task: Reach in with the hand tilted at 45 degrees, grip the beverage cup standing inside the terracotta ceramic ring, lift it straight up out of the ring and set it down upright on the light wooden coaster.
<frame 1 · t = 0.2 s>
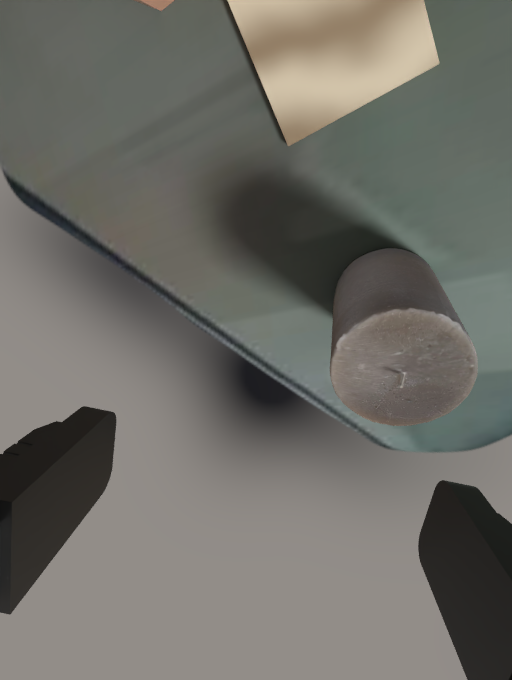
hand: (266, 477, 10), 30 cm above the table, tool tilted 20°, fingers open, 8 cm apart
pillar candle: (384, 292, 38), on the table
wooden coaster: (329, 23, 29), on the table
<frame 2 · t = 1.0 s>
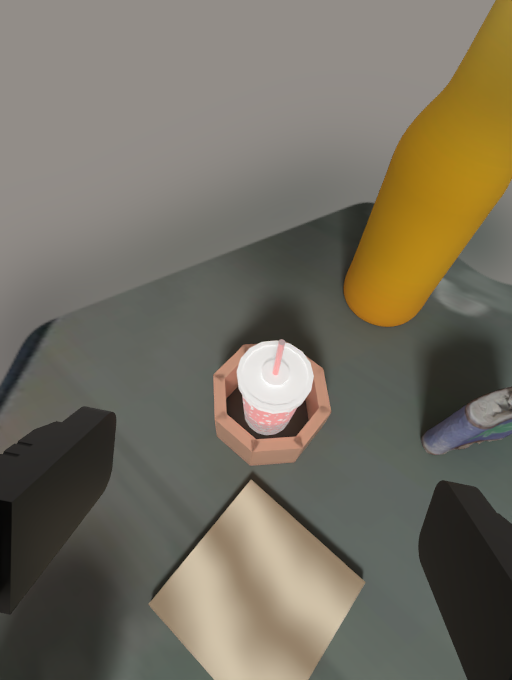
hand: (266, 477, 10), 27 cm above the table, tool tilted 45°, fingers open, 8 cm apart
beer bottle: (379, 297, 47), on the table
ceramic ring: (267, 412, 39), on the table
wooden coaster: (258, 592, 31), on the table
beverage cup: (267, 413, 39), resting in ceramic ring
flask: (461, 435, 39), on the table
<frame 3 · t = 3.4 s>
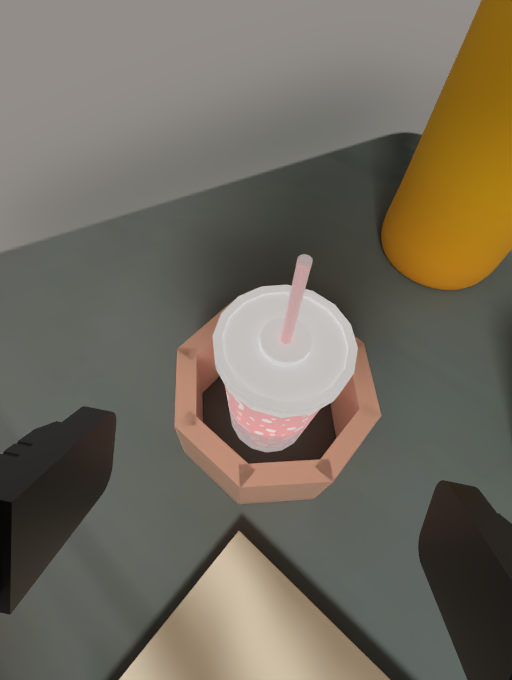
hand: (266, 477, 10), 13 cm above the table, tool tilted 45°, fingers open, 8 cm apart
beer bottle: (432, 251, 32), on the table
ceramic ring: (268, 414, 24), on the table
beverage cup: (267, 416, 24), resting in ceramic ring
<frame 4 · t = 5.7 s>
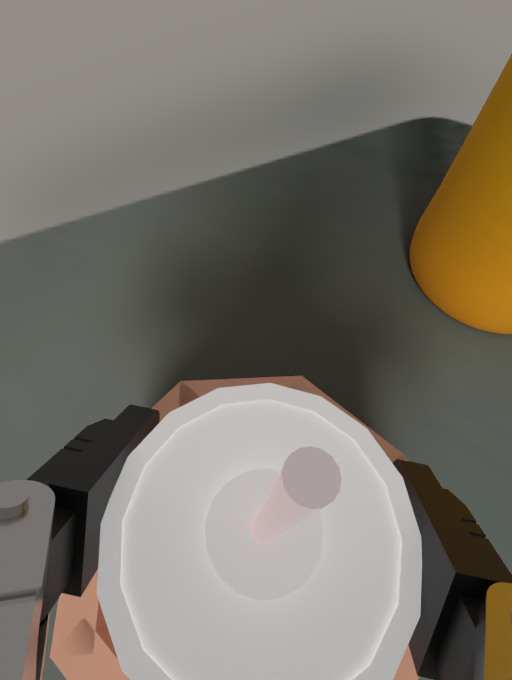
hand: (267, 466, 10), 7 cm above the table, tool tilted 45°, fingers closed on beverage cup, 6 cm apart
beer bottle: (479, 275, 23), on the table
ceramic ring: (246, 550, 15), on the table
beverage cup: (245, 550, 15), resting in ceramic ring, touching gripper
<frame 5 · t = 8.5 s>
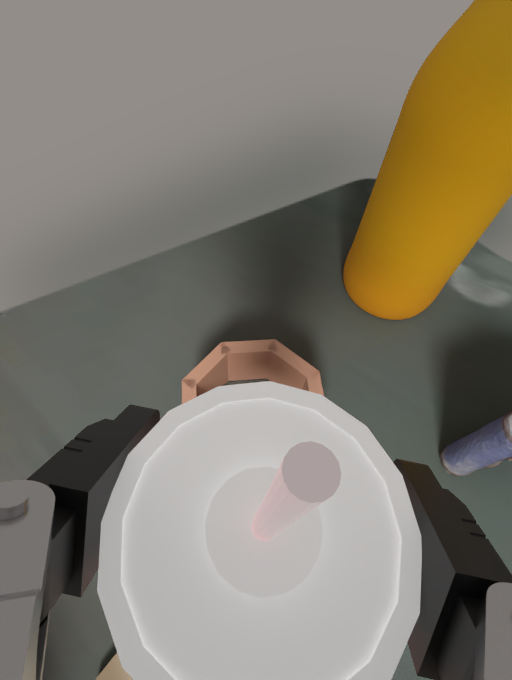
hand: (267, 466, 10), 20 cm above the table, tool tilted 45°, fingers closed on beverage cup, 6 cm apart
beer bottle: (385, 286, 40), on the table
ceramic ring: (251, 424, 32), on the table
wooden coaster: (238, 661, 24), on the table
beverage cup: (245, 548, 15), point 13 cm above the table, touching gripper
flask: (488, 450, 32), on the table
when the fingers open (9 cm above the table, at t = 11.6 s): beverage cup drops 1 cm, resting on wooden coaster.
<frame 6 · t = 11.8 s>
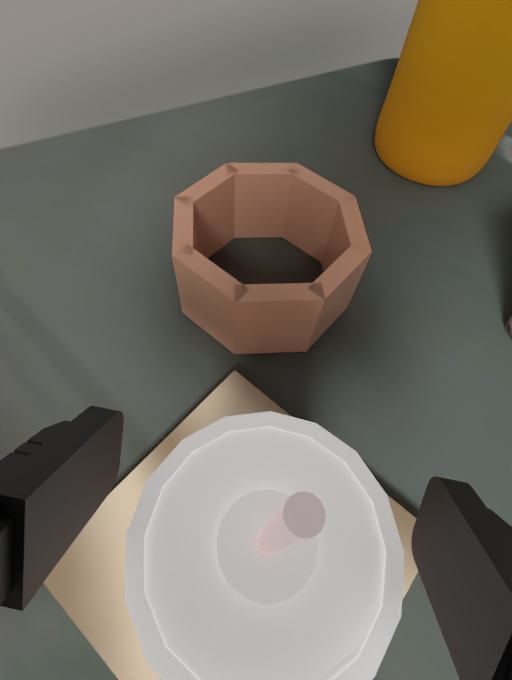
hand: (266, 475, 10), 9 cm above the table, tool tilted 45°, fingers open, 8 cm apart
beer bottle: (424, 155, 33), on the table
ceramic ring: (263, 283, 25), on the table
wooden coaster: (243, 552, 17), on the table
beverage cup: (248, 557, 16), point 1 cm above the table, touching wooden coaster
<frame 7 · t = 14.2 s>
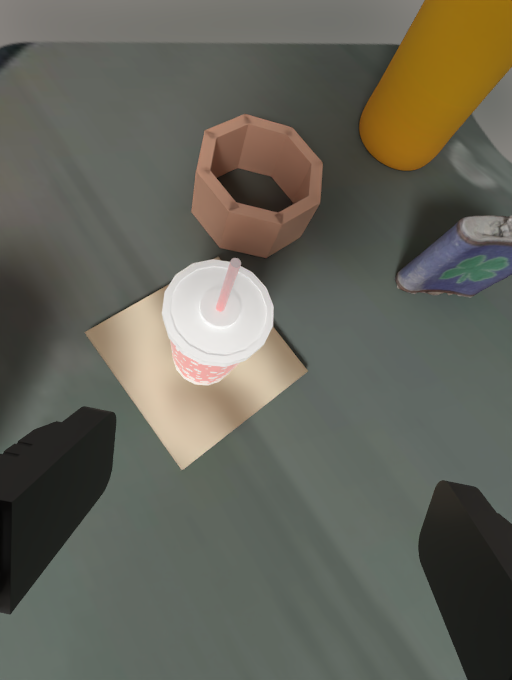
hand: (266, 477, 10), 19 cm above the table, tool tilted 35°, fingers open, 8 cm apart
beer bottle: (393, 141, 43), on the table
ceramic ring: (249, 206, 36), on the table
wooden coaster: (201, 355, 30), on the table
beverage cup: (203, 356, 30), point 1 cm above the table, touching wooden coaster
flask: (434, 284, 38), on the table
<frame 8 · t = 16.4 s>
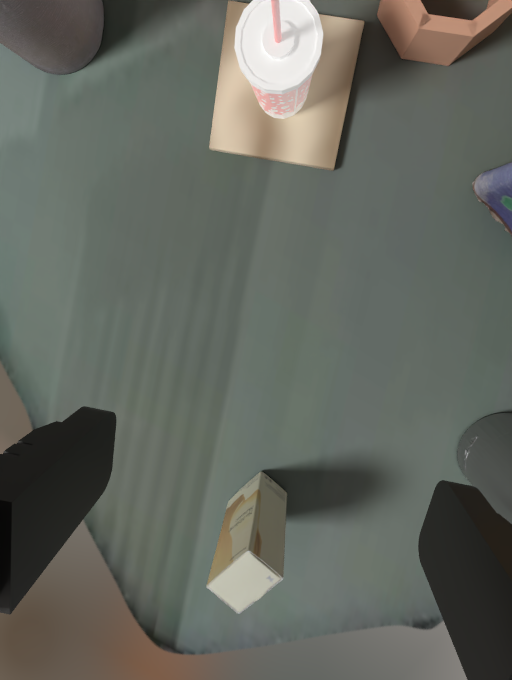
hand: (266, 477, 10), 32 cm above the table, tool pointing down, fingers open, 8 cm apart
skincare box: (256, 496, 47), on the table
pillar candle: (59, 19, 37), on the table
wooden coaster: (283, 91, 36), on the table
beverage cup: (282, 91, 36), point 1 cm above the table, touching wooden coaster
flask: (507, 212, 37), on the table
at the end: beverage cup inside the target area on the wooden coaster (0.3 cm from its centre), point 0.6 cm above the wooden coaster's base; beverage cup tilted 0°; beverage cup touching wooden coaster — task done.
